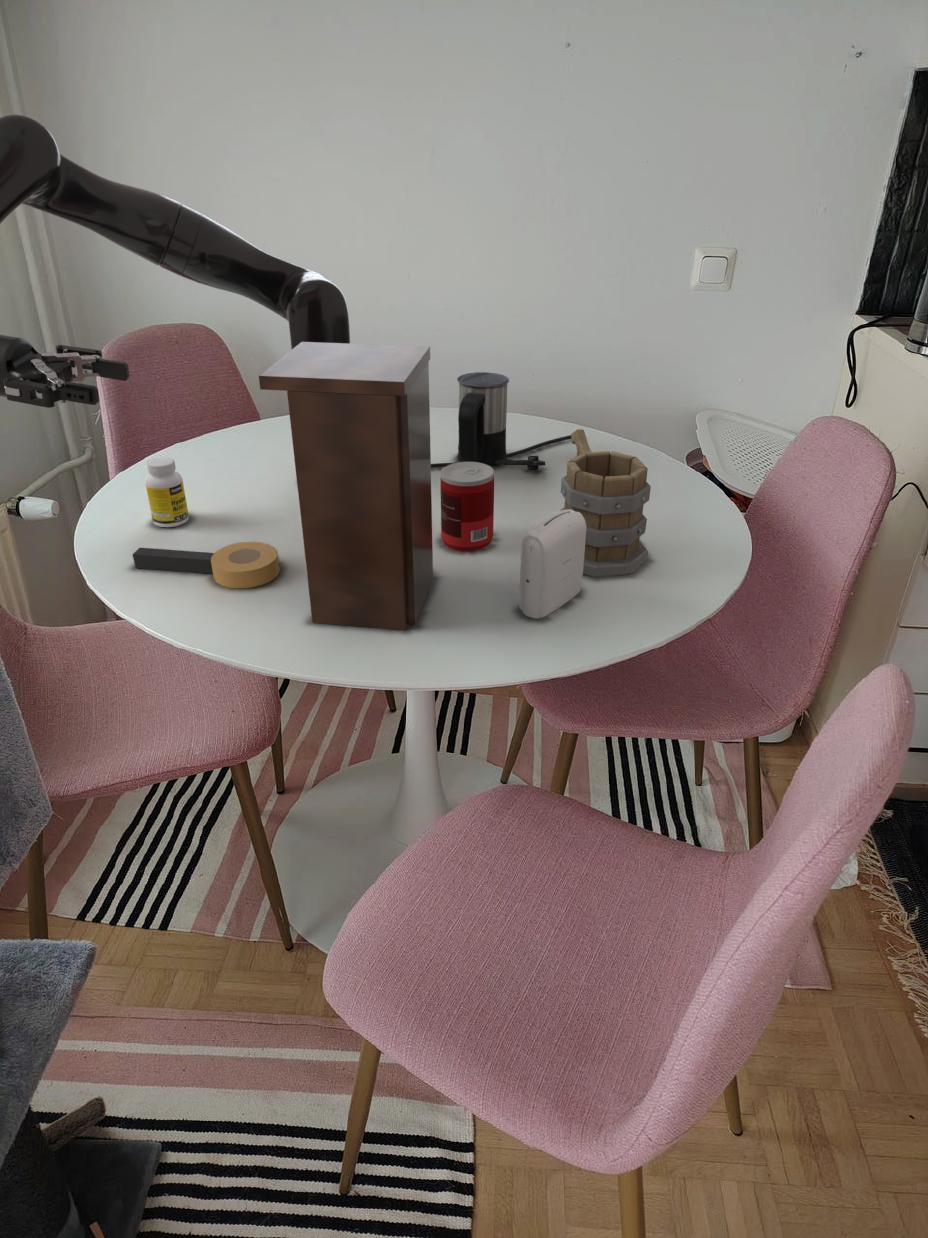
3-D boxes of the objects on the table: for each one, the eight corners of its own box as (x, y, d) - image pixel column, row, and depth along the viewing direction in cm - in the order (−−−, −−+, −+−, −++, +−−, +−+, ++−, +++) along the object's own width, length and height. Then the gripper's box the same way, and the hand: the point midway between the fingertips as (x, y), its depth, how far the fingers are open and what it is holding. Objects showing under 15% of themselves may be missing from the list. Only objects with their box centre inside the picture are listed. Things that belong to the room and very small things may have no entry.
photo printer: (540, 623, 107) (546, 534, 101) (513, 612, 110) (517, 524, 103) (586, 592, 114) (593, 507, 108) (559, 582, 116) (565, 498, 110)
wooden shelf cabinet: (289, 621, 108) (258, 375, 92) (323, 565, 121) (301, 341, 104) (413, 631, 106) (404, 381, 90) (434, 573, 119) (430, 346, 102)
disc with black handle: (288, 560, 122) (286, 543, 121) (266, 591, 114) (264, 573, 113) (153, 550, 125) (150, 534, 123) (123, 579, 117) (119, 562, 116)
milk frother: (457, 450, 160) (457, 370, 152) (542, 451, 159) (546, 371, 151) (454, 479, 148) (454, 394, 140) (546, 480, 147) (550, 395, 139)
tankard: (656, 573, 119) (669, 471, 111) (568, 580, 117) (575, 477, 109) (611, 513, 136) (620, 421, 128) (534, 519, 134) (538, 426, 126)
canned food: (499, 533, 130) (501, 464, 124) (483, 556, 123) (484, 485, 117) (452, 526, 132) (451, 458, 126) (433, 548, 125) (432, 477, 119)
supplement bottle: (179, 529, 131) (167, 469, 125) (146, 526, 131) (134, 466, 126) (195, 515, 135) (185, 456, 130) (164, 512, 136) (152, 453, 131)
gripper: (-53, 352, 100) (82, 374, 100) (12, 317, 112) (134, 336, 111) (-39, 412, 104) (91, 433, 104) (23, 373, 116) (140, 391, 116)
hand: (113, 383), depth 108 cm, fingers open, 8 cm apart
